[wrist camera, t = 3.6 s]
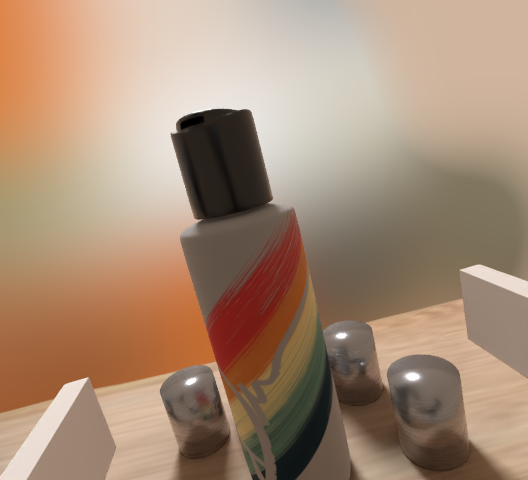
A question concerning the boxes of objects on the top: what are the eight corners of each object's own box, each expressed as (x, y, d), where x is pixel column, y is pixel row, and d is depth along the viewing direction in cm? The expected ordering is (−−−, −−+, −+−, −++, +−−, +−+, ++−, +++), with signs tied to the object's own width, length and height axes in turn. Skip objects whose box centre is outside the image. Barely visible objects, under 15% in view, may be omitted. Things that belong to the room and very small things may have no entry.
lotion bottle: (236, 504, 19) (117, 132, 15) (278, 426, 24) (196, 127, 20) (338, 535, 17) (228, 91, 12) (362, 440, 22) (289, 97, 17)
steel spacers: (156, 496, 21) (132, 433, 20) (208, 376, 32) (194, 331, 31) (482, 466, 18) (472, 391, 17) (415, 345, 29) (407, 295, 28)
